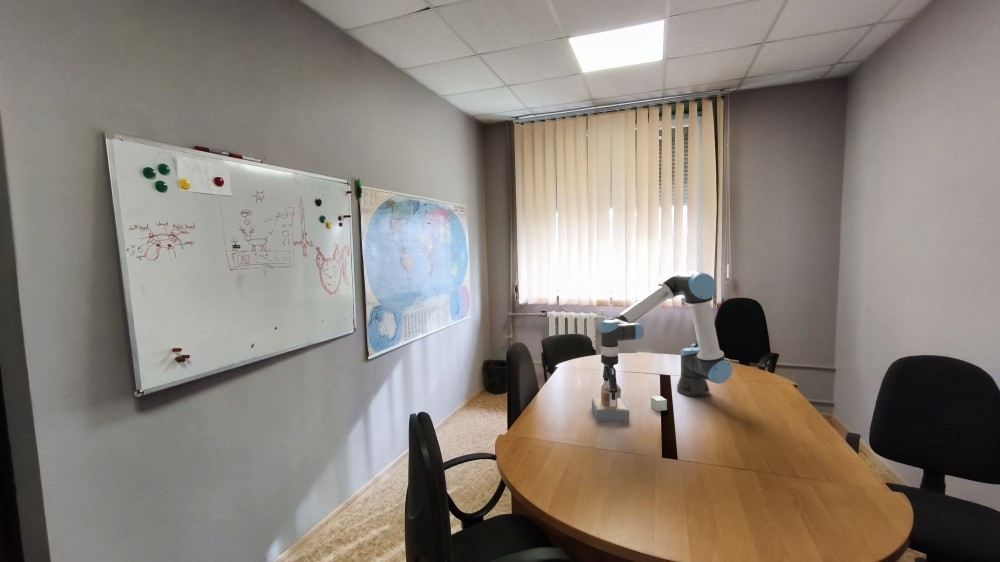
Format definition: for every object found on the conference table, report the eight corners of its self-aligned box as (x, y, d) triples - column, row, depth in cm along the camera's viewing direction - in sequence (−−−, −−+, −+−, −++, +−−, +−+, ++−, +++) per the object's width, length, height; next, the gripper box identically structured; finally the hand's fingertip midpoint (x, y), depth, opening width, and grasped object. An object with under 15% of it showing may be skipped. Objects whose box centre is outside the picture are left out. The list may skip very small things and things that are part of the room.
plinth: (621, 408, 184) (621, 397, 183) (629, 421, 170) (629, 409, 169) (591, 408, 185) (591, 397, 184) (596, 421, 171) (596, 409, 171)
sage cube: (660, 405, 185) (660, 395, 185) (666, 410, 180) (666, 399, 180) (650, 407, 184) (650, 396, 184) (656, 411, 180) (656, 400, 179)
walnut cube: (614, 400, 180) (614, 388, 179) (617, 406, 174) (617, 393, 173) (601, 400, 180) (601, 388, 180) (603, 406, 174) (603, 393, 174)
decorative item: (620, 403, 199) (617, 383, 204) (624, 397, 191) (620, 378, 196) (601, 403, 200) (599, 384, 205) (604, 398, 191) (601, 378, 197)
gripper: (596, 347, 188) (596, 390, 190) (606, 362, 163) (606, 411, 165) (612, 347, 187) (612, 390, 189) (624, 362, 162) (624, 411, 164)
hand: (609, 400), depth 177 cm, fingers open, 13 cm apart
